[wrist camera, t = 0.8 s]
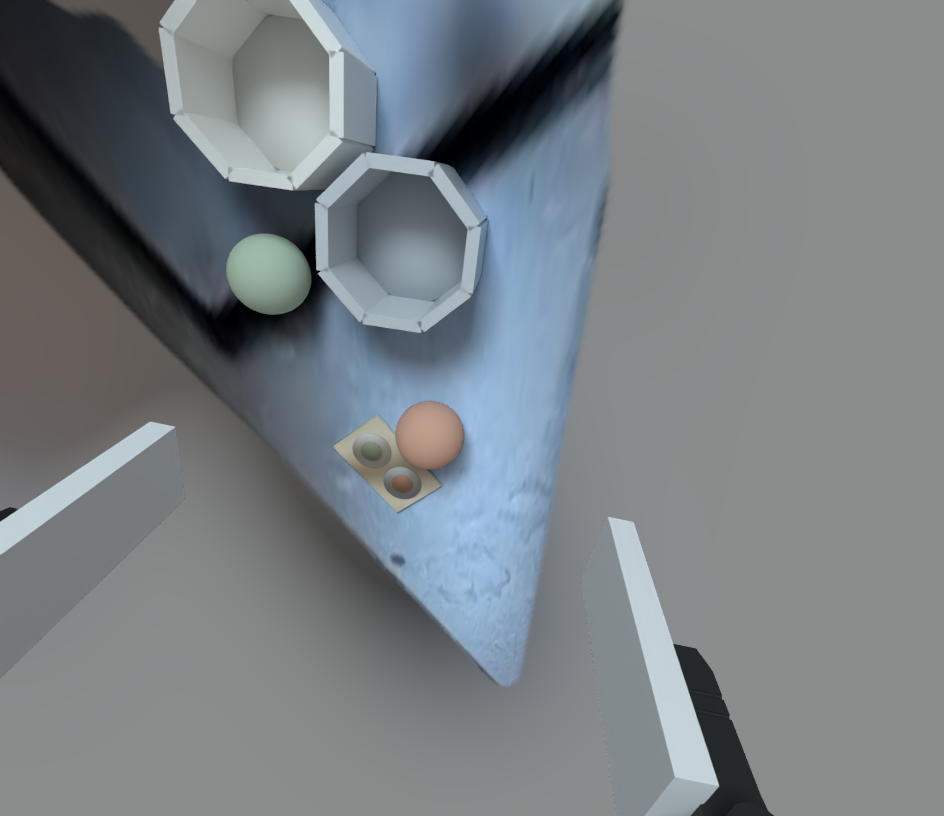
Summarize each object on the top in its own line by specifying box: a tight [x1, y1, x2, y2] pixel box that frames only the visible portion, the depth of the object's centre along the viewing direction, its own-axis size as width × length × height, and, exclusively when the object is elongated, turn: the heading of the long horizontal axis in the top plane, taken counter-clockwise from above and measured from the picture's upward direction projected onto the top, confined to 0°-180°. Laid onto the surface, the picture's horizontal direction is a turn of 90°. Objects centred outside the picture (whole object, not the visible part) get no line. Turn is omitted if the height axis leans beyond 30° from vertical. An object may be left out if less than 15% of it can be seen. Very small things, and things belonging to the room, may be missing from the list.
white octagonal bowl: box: [159, 0, 377, 190], centre depth 25 cm, size 9×9×6 cm
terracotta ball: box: [395, 401, 464, 469], centre depth 34 cm, size 5×5×5 cm
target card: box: [333, 414, 442, 512], centre depth 38 cm, size 8×5×1 cm, turn 38°
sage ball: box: [226, 234, 311, 315], centre depth 30 cm, size 5×5×5 cm
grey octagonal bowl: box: [315, 152, 488, 333], centre depth 28 cm, size 9×9×6 cm
